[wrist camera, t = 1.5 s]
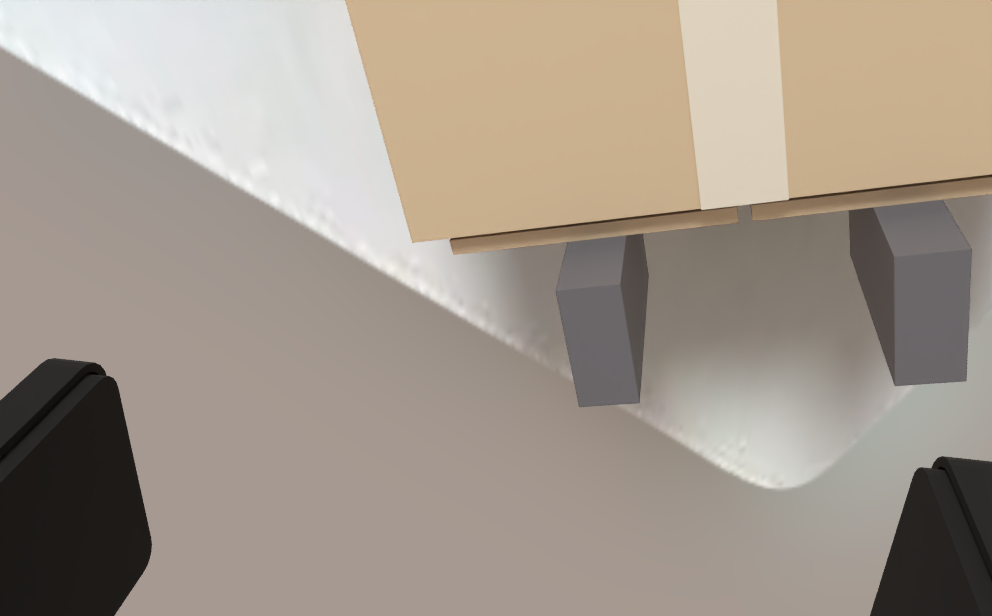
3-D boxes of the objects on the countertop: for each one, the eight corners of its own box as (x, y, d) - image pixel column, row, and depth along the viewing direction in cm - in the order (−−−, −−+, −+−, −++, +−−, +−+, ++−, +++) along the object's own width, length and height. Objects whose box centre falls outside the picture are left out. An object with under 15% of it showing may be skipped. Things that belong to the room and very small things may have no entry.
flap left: (724, 102, 35) (742, 254, 24) (734, 209, 37) (755, 395, 26) (502, 134, 37) (426, 288, 26) (523, 234, 39) (461, 415, 28)
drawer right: (989, 63, 33) (1143, 213, 22) (984, 180, 35) (1122, 370, 24) (735, 101, 35) (758, 253, 24) (745, 209, 37) (770, 394, 26)
